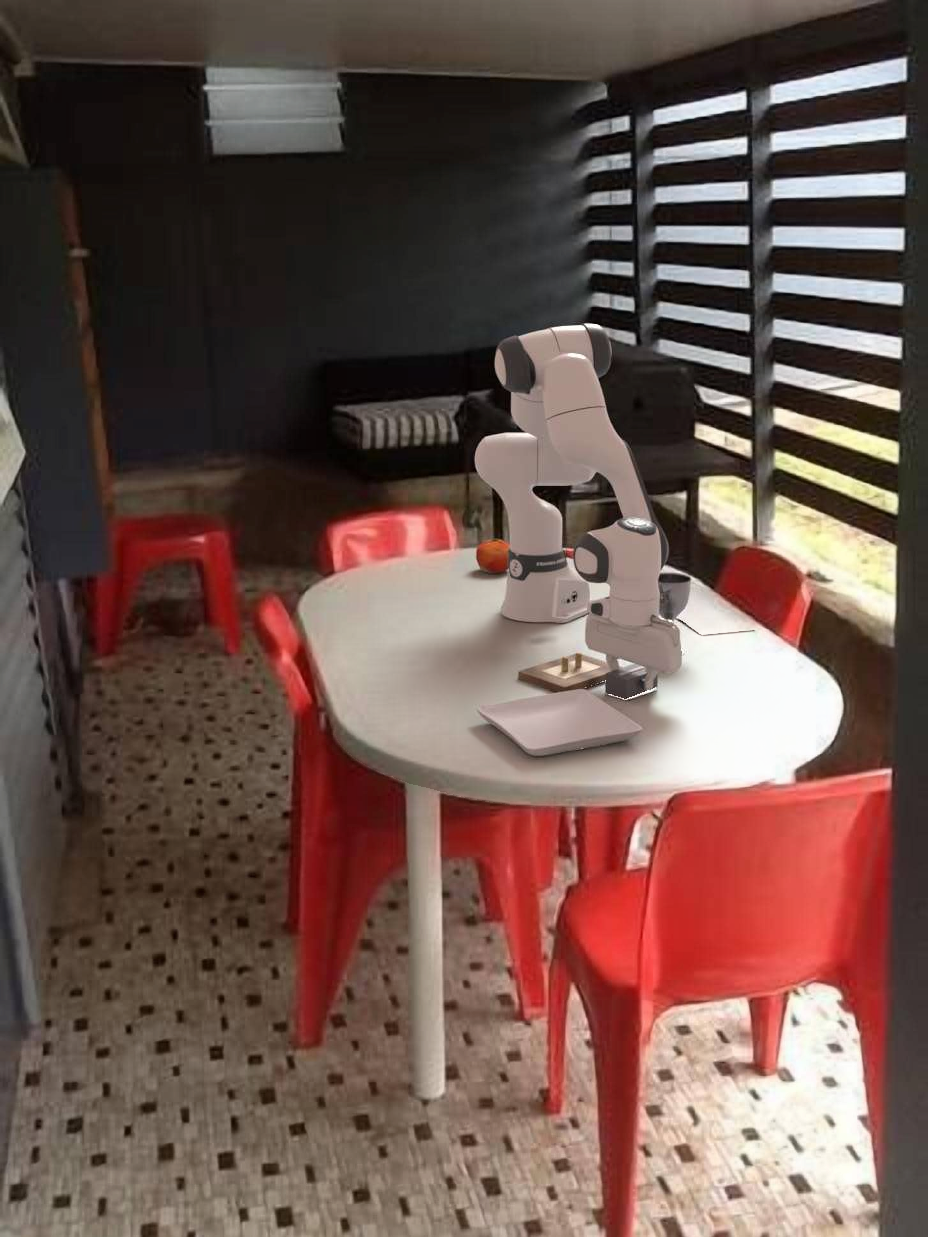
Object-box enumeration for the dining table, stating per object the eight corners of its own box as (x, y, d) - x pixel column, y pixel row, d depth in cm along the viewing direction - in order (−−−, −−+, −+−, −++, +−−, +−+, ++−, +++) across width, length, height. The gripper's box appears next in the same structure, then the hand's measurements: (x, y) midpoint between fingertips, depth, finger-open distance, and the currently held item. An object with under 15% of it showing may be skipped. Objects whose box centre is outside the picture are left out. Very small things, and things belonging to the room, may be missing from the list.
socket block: (636, 683, 251) (637, 662, 250) (657, 690, 248) (658, 668, 246) (605, 694, 246) (605, 672, 245) (626, 701, 242) (626, 679, 241)
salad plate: (528, 768, 215) (529, 747, 214) (473, 723, 233) (473, 704, 232) (645, 747, 223) (646, 727, 222) (583, 705, 241) (583, 687, 240)
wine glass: (695, 651, 269) (699, 577, 265) (672, 660, 264) (675, 585, 259) (662, 642, 275) (665, 570, 270) (638, 651, 269) (641, 578, 265)
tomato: (500, 578, 323) (501, 545, 320) (468, 572, 327) (468, 540, 325) (521, 569, 330) (521, 537, 328) (488, 564, 335) (488, 532, 332)
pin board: (577, 660, 264) (578, 639, 263) (624, 675, 256) (625, 654, 254) (518, 678, 254) (518, 657, 253) (564, 695, 245) (565, 673, 244)
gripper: (691, 619, 237) (687, 694, 241) (604, 595, 251) (602, 666, 255) (667, 626, 233) (664, 702, 237) (580, 601, 247) (578, 674, 251)
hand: (631, 683), depth 246 cm, fingers open, 6 cm apart
